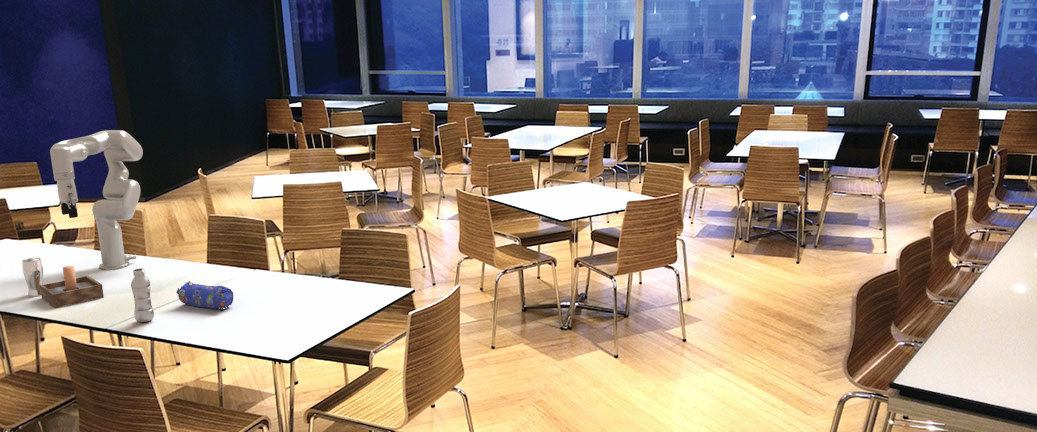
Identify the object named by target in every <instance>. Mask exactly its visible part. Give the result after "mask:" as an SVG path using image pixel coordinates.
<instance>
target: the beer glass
mask: <svg viewBox="0 0 1037 432" xmlns="http://www.w3.org/2000/svg"><path fill="white" fill-rule="evenodd" d="M21 263H22V265H21V266H22V273H23V276H24V279H25V282H26V284H27V290H28V292H27V293H28V294H27V295H28V297H31V298H33V297H40V296H41V290H40V285H44V283H43V282H44V269H43V263H42V259H41V257H30V258H24V259H22V261H21Z"/></svg>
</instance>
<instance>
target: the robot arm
mask: <svg viewBox="0 0 1037 432" xmlns="http://www.w3.org/2000/svg"><path fill="white" fill-rule="evenodd" d="M49 151H50V152H49V155H50V159H51V160H50V161H51V166H52V173H53V179H54V181H55V182H56V186H57V194H58V199H59V201H60V209H61V214H62V216H64V215H68V218H69V219H73V218H78V216H79V214H78V207H77V203H78V202H79V198H78V197H79V196H78V192H77V188H76V187H77V186H76V184H75V183H76V182H75V179H76V177H75V170H74V164H73V163H75V162H83V161H84V160H86V159H87V158H88V156H91V155H92V156H93V155H97V154H100V153H102V152H103V155H104V158H105V160H106V163H107V167H108V173H107V176H106V179H105V183H104V185H103V189H102V196H103V198H105V199H99V200H97V201H95V202H94V204H93V205H92V215H93V217H94V219H95V222H96V227H97V234H98V242H99V249H100V255H101V262H102V263H101V264H99V265H98V269H100V270H106V271H109V270H110V271H111V270H118V269H124V268H126V267H129V265H130V260H135V259H137V256H136V254H132V255H131V254H130V255H126V254H125V249H124V243H123V242H124V241H123V233H122V228H121V225H120V224H119V221H129V220H131V219H132V218H133V217H134V216H135V212H136V209H137V206H138V204H139V203H138V202H139V200H140V197H141V186H140V184H139V182H138V181H137V180H135V179H129V176H130V173H129V172H130V171H129V169H128V168H127V166H126V165H125V164H124V163H123V162H137V161H140V160H141V159H142V157H143V154H144V152H143V151H144V150H143V147H142V146H141V143H139V142H138V141H137V140H136V139H135V138H134V137H133V136H132V135H131V134H130V133H128V132H127V131H125V130H122V129H121V130H120V129H117V130H116V129H111V130H109V129H108V130H107V129H105V130H101V131H98V132H95V133H93V134H89V135H86V136H85V135H84V136H81V137H76V138H72V139H66V140H62V141H59V142H56V143H55V144H53V145H52V146H51V148H50V150H49Z"/></svg>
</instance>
